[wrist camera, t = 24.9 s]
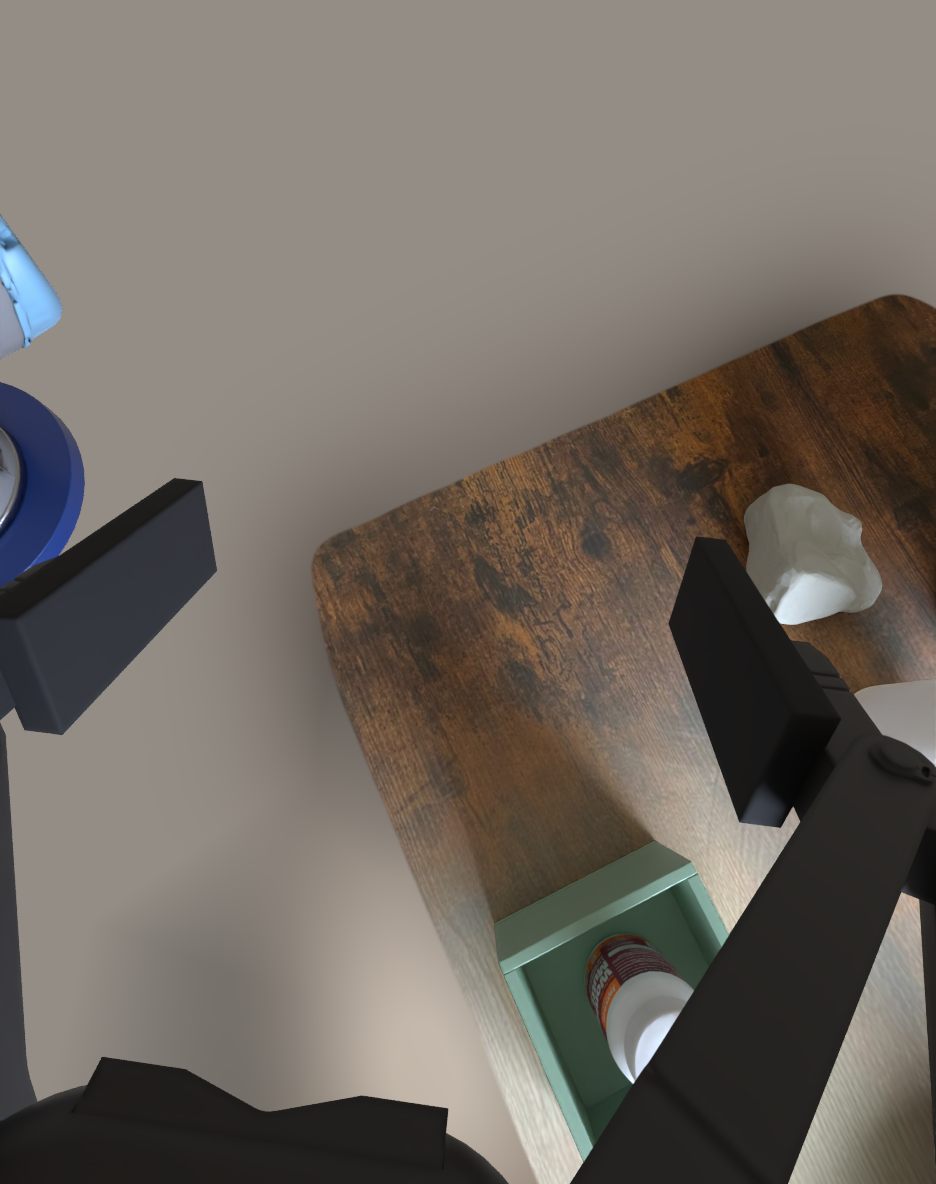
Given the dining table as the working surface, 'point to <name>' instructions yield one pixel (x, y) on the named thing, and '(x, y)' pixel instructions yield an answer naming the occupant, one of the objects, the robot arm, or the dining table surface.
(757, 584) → the decorative stone
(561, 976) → the bin
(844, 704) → the robot arm
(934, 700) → the beverage can
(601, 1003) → the pill bottle
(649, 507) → the dining table surface
